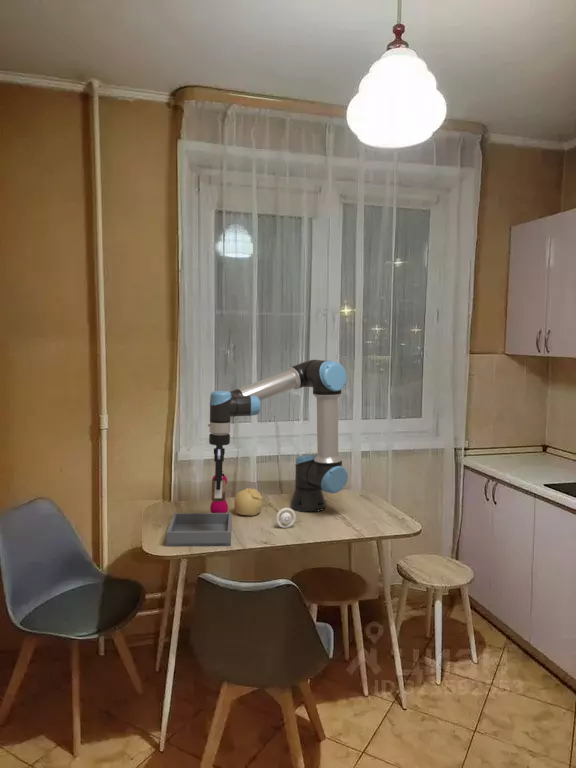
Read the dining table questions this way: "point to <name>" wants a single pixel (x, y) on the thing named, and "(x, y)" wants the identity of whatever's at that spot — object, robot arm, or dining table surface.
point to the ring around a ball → (285, 517)
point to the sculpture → (248, 502)
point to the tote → (200, 529)
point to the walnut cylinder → (214, 492)
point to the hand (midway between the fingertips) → (218, 495)
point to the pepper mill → (219, 506)
